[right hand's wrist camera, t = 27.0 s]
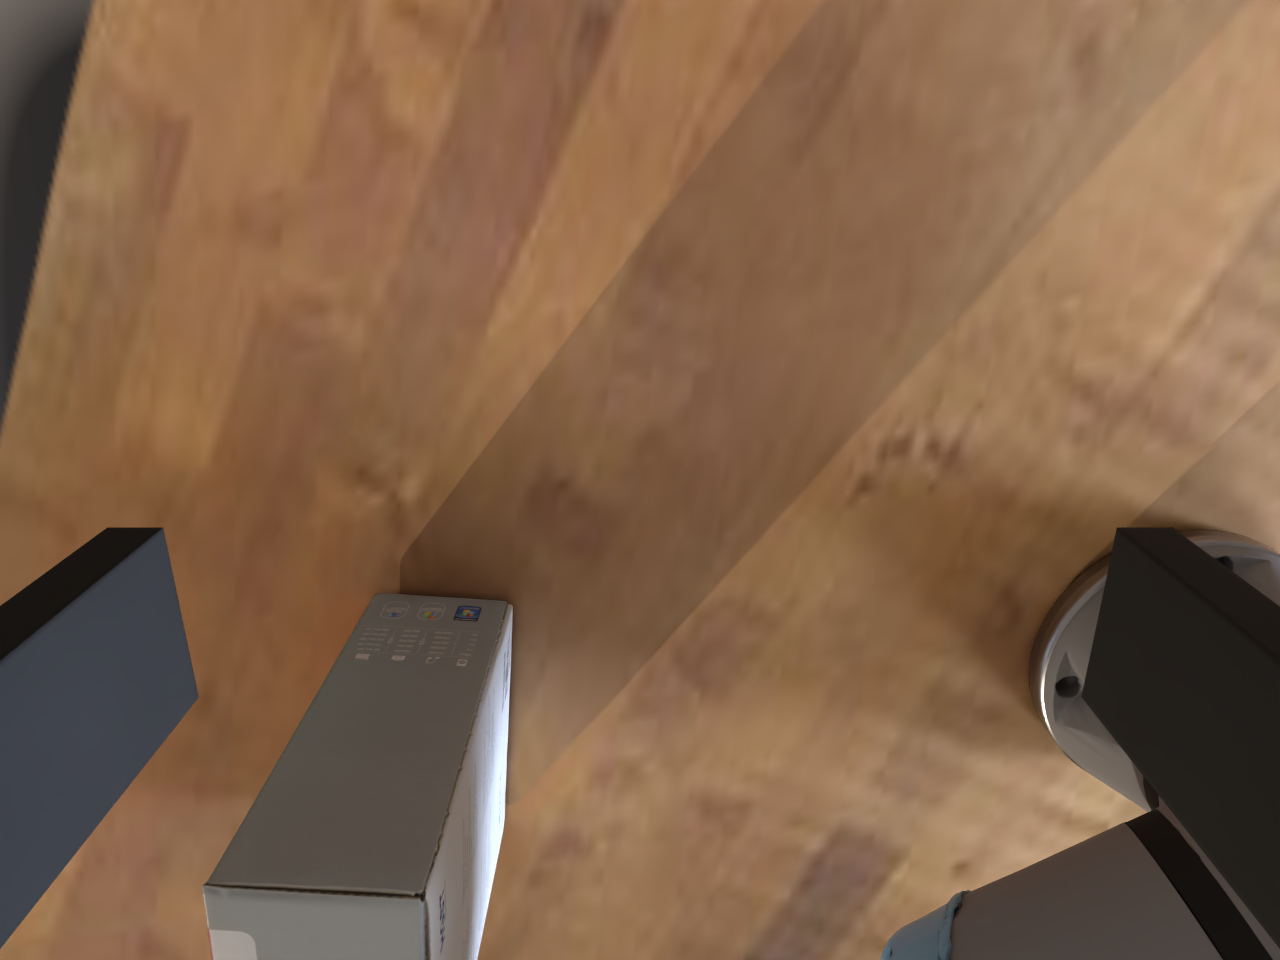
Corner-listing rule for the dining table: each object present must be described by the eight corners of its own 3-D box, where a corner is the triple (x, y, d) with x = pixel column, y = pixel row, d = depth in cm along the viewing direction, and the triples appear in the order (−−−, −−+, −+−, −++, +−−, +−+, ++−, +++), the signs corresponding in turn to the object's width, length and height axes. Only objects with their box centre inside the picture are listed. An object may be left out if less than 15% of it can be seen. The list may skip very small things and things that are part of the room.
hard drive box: (371, 587, 47) (197, 878, 29) (515, 597, 48) (434, 892, 29) (379, 819, 53) (238, 1188, 34) (508, 826, 53) (437, 1197, 35)
